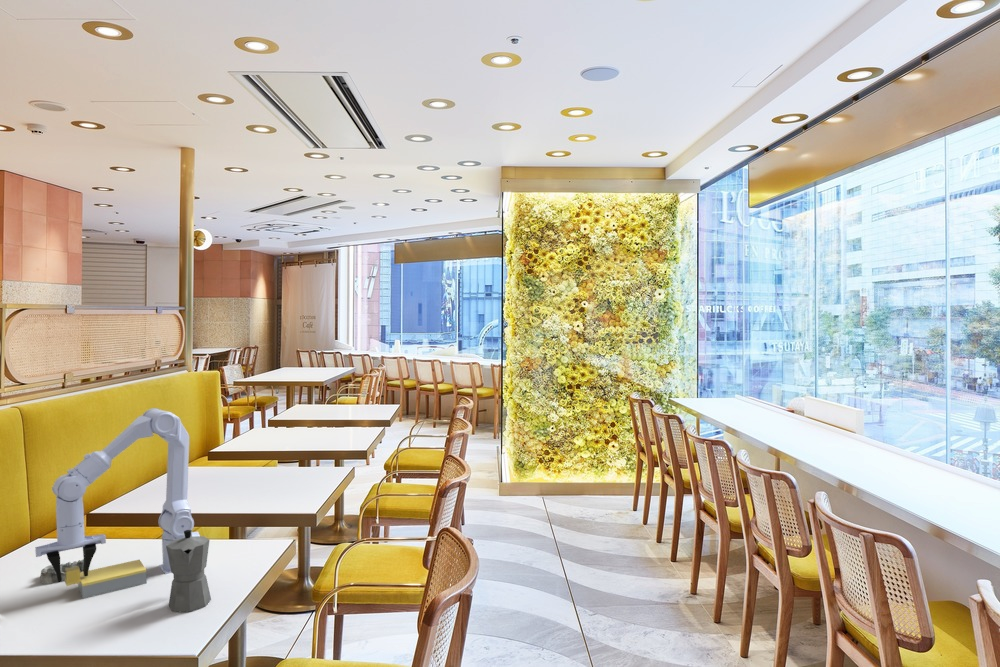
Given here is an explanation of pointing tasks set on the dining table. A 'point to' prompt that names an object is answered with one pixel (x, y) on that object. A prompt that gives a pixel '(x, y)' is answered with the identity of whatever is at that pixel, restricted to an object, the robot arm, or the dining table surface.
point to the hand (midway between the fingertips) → (72, 578)
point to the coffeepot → (188, 573)
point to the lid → (103, 573)
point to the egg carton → (50, 575)
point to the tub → (112, 585)
